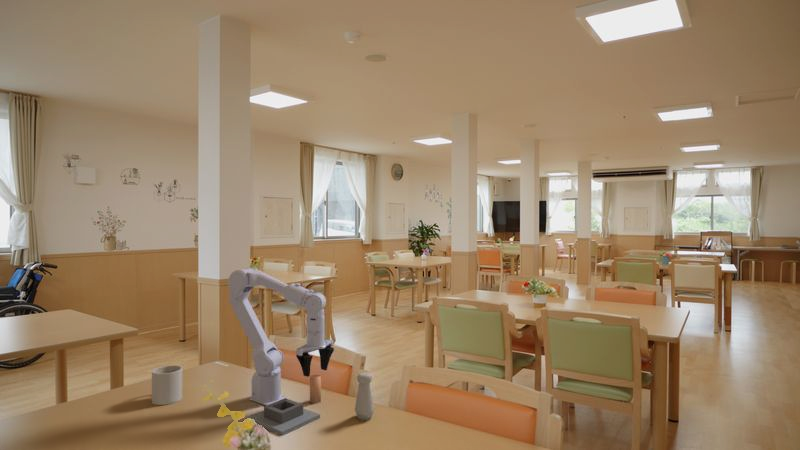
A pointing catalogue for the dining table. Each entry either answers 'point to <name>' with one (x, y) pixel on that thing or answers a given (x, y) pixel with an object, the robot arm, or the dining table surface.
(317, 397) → the peg
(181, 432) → the dining table surface
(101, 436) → the dining table surface
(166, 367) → the grey cup
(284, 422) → the socket board
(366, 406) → the salt shaker
